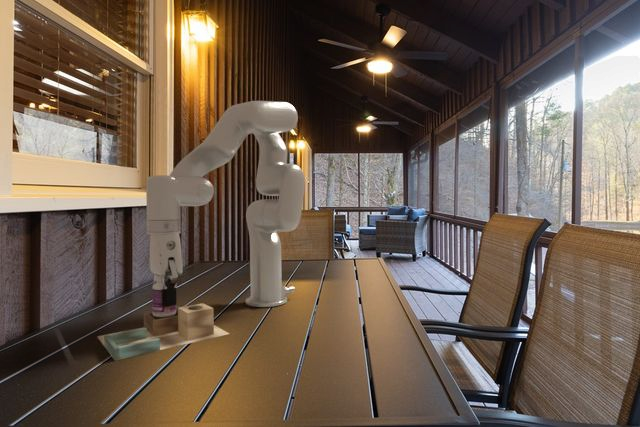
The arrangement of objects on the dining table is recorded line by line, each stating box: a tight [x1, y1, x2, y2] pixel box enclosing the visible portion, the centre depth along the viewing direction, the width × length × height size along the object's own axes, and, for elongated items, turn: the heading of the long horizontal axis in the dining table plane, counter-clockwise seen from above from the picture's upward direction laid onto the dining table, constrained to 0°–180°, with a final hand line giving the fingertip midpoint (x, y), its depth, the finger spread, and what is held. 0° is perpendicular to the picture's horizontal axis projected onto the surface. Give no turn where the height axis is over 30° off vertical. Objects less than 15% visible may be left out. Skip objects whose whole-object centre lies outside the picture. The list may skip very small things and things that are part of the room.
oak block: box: [177, 302, 215, 340], centre depth 93 cm, size 6×6×6 cm
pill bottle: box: [151, 273, 177, 317], centre depth 96 cm, size 5×5×10 cm
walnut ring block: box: [143, 307, 179, 336], centre depth 97 cm, size 8×8×4 cm
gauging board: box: [96, 324, 231, 361], centre depth 92 cm, size 24×18×3 cm
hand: (164, 302), depth 96 cm, fingers closed on pill bottle, 5 cm apart
